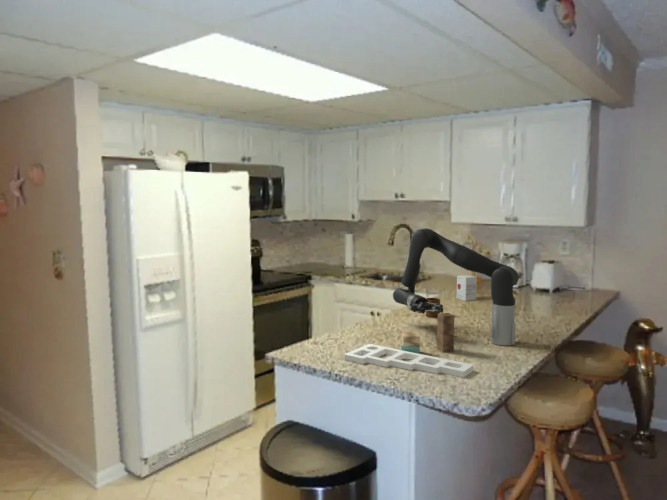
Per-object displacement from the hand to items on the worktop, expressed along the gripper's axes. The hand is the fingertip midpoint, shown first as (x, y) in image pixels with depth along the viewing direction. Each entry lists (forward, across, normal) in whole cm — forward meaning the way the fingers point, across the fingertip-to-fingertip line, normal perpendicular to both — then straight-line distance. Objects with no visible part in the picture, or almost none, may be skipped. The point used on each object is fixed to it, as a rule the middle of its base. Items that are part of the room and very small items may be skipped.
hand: (433, 310), depth 213 cm
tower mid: (+12, -15, +10) cm, 22 cm away
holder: (+25, -23, +15) cm, 37 cm away
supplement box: (-83, +64, +15) cm, 106 cm away
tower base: (+12, -15, +14) cm, 24 cm away
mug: (-45, +21, +15) cm, 52 cm away
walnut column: (+12, 0, +14) cm, 18 cm away
